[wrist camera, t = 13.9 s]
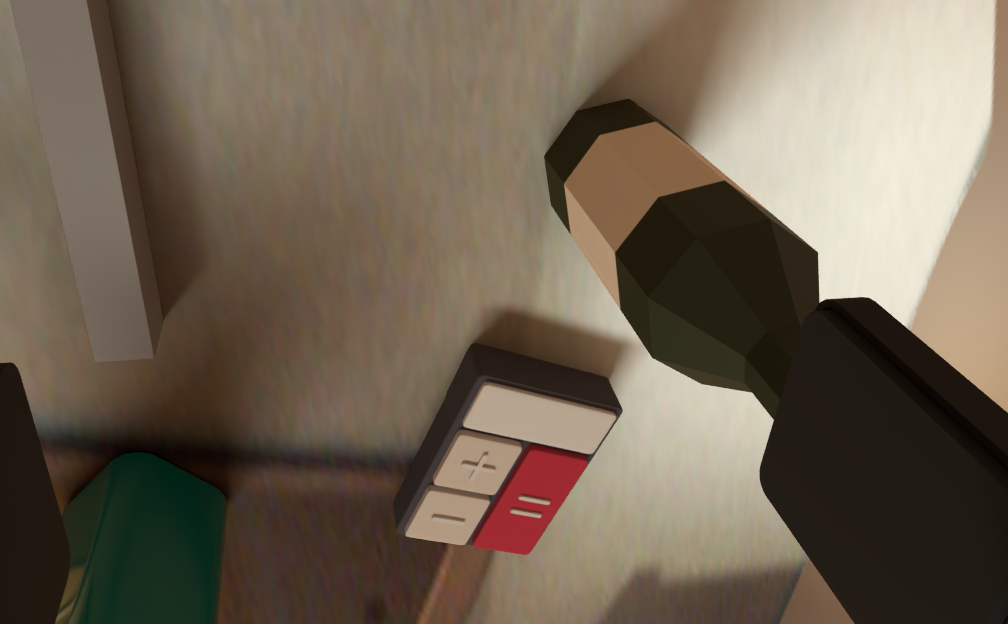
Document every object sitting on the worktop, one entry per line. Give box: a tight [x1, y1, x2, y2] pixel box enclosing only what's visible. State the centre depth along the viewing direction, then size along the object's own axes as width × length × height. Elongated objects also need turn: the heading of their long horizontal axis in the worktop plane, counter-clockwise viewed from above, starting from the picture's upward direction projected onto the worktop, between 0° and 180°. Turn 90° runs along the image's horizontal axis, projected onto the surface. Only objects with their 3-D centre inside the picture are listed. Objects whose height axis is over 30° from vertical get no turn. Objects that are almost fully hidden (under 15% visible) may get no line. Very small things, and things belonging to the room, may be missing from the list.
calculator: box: [393, 344, 622, 555], centre depth 58 cm, size 11×4×15 cm
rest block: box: [10, 0, 163, 362], centre depth 41 cm, size 20×3×4 cm, turn 176°
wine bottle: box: [544, 99, 819, 419], centre depth 37 cm, size 8×8×30 cm
